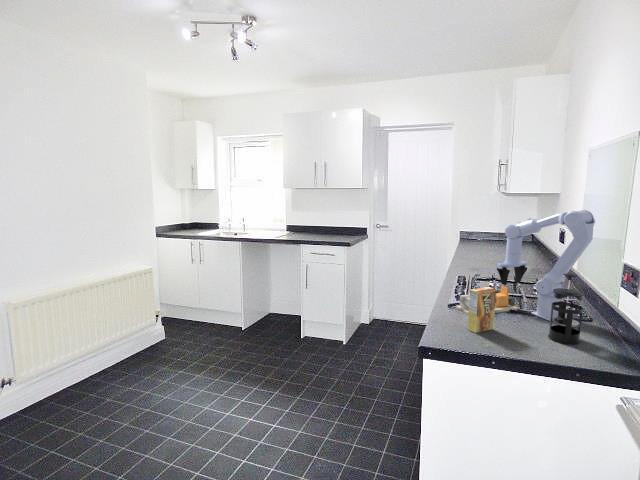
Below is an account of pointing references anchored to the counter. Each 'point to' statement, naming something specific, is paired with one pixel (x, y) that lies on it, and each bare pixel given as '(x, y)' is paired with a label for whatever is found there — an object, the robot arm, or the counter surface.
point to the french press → (564, 325)
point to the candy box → (481, 309)
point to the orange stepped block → (502, 297)
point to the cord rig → (511, 302)
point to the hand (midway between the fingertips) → (510, 283)
